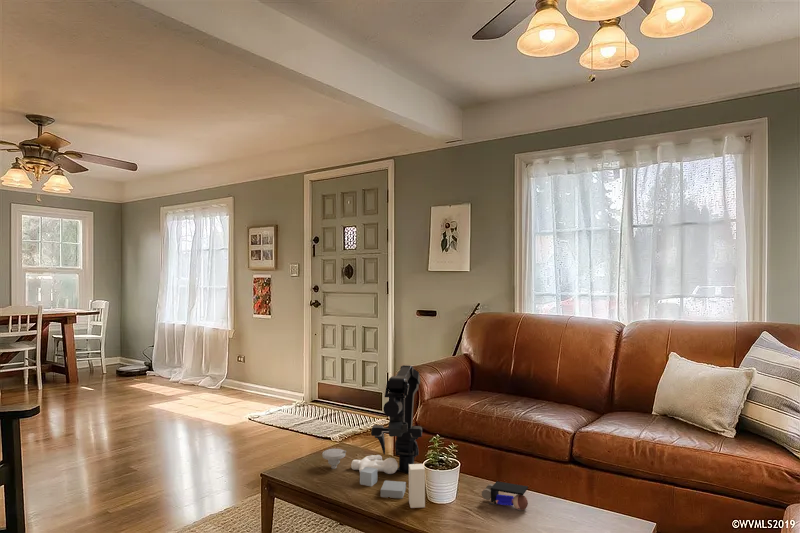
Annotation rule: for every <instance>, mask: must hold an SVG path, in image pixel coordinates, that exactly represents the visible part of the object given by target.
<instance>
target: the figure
mask: <svg viewBox="0 0 800 533" xmlns="http://www.w3.org/2000/svg"><path fill="white" fill-rule="evenodd" d="M350 466H351V469H352V470H353V471H359V473H360V471H361V470H362V469H364V468H365V467H371V468H377V472H384V473H385V474H387V475H393V474H395V473H396V472H397V471H398V470H397V469H398V467H399V463H398V461H397V460H396V459H395V458H394V457H391V456H390V457H388V458H385V459H384V460H383V457H382V455H380V454H376V455H375V454H374V455H373V454H371V455H366V456H365V457H363V458H362V459H353V460H352V461H351V465H350Z"/></svg>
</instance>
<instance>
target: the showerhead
mask: <svg viewBox="0 0 800 533" xmlns="http://www.w3.org/2000/svg"><path fill="white" fill-rule="evenodd" d="M346 453H347V450H344V449H342V448H329V449H325V450H324V451H323V452H322V458H323V459H324V460H327V464H328V465H330V466H331V467H330V468H331V469H332V470H334V469H337V466H338V465H339V464H340V462H341V460H342V459H343V458H345V457H346Z"/></svg>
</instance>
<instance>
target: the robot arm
mask: <svg viewBox="0 0 800 533" xmlns="http://www.w3.org/2000/svg"><path fill="white" fill-rule="evenodd" d="M420 375H421V374H420V372H419V371H417V369H415V368H414V366H413V365H407V364H406V365H400V368H399V371H398V373H397V374H396V375H394V376H391V377H389V379H388V380H387V381H386V386H385V392H384V398H388V401H386V402H385V403H384V405H383V409H382V410H383V413H384V414H385V416H386V417H389V419H388V420H389V422H388V427H384V425H383V424H382V425H381V424H374V425H373V426H372V428H371V430H370V432H371V433H370V435H371V436H372V437H373V436H374V438H375V439H377V440H378V442H379V444H380V447H381V450H382V453H383V455H386V444H385V443H386V440H385V434H388V436H389V437H396V440H395V442H394V450H395V456H398V457H399V458H398V459H399V461H398V462H399V463H398V469H397V470H396V471H398V472H401V473H402V472H403V473H406V474H409V464H415V458H416V457H417V456H419V452H420V451H419V446H418V445H419V444H418V442H417V441H416V440H418V439H419V438H422V437H423V427H422V426H419V425H413V421H414V420H413V419H414V406H415V405H414V404H415V402H414V400H415V395H416V392H418V390H419V385H420V384H421V376H420Z"/></svg>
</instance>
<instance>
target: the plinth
mask: <svg viewBox="0 0 800 533" xmlns="http://www.w3.org/2000/svg"><path fill="white" fill-rule="evenodd" d="M406 489H407V482H406V481H395V480H384V481H383V484H382V486H381V487H380V497H381V498H388V497H390V498H392V499H403V498H404V495H405V493H406ZM390 498H389V499H390Z"/></svg>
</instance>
